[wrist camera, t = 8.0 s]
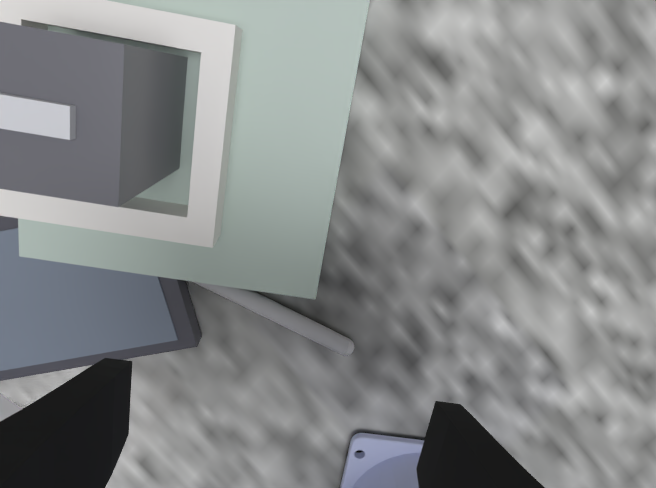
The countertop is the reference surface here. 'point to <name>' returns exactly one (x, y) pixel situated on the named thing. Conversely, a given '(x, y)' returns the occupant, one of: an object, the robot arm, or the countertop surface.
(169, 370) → the countertop surface
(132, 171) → the charger block
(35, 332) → the phone
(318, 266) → the outlet plate
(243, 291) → the rod
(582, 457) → the countertop surface
